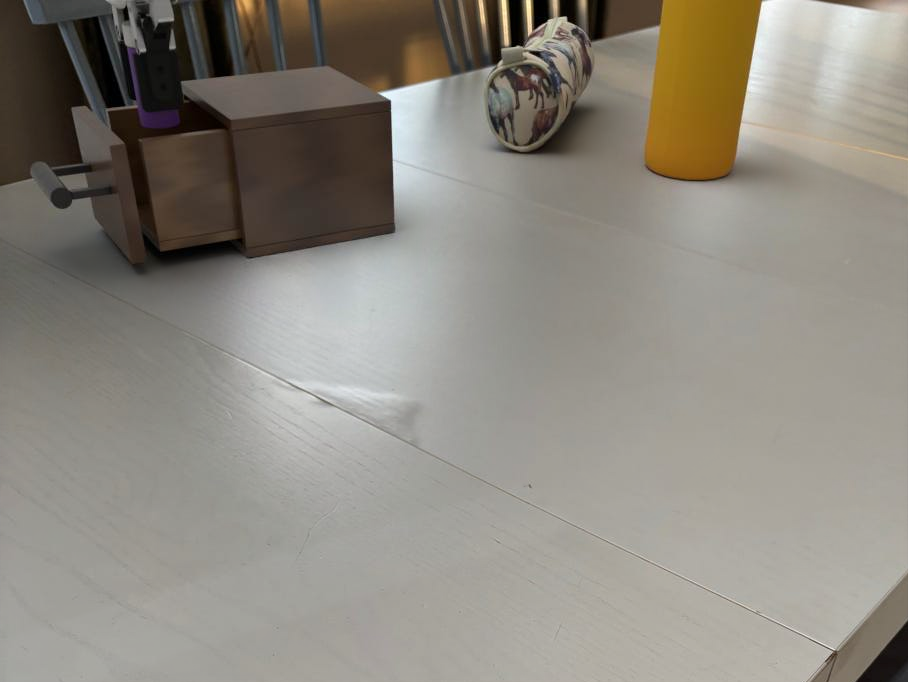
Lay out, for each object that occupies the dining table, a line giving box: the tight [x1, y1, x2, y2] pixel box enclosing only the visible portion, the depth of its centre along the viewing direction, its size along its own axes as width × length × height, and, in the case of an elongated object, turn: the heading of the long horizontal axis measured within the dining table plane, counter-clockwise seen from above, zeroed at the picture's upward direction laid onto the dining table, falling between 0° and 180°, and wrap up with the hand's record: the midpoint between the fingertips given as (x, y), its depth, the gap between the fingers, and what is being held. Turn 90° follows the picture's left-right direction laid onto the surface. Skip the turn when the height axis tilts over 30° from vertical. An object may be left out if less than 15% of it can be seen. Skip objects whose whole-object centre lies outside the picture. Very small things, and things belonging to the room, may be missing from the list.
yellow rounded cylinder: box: [643, 0, 763, 181], centre depth 98 cm, size 9×9×29 cm
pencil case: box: [483, 16, 596, 153], centre depth 114 cm, size 22×8×10 cm, turn 166°
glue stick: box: [122, 19, 180, 129], centre depth 81 cm, size 3×3×7 cm
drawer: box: [29, 99, 242, 265], centre depth 85 cm, size 17×11×9 cm, turn 120°
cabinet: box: [181, 65, 396, 259], centre depth 90 cm, size 14×13×11 cm
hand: (155, 101), depth 82 cm, fingers closed on glue stick, 3 cm apart
